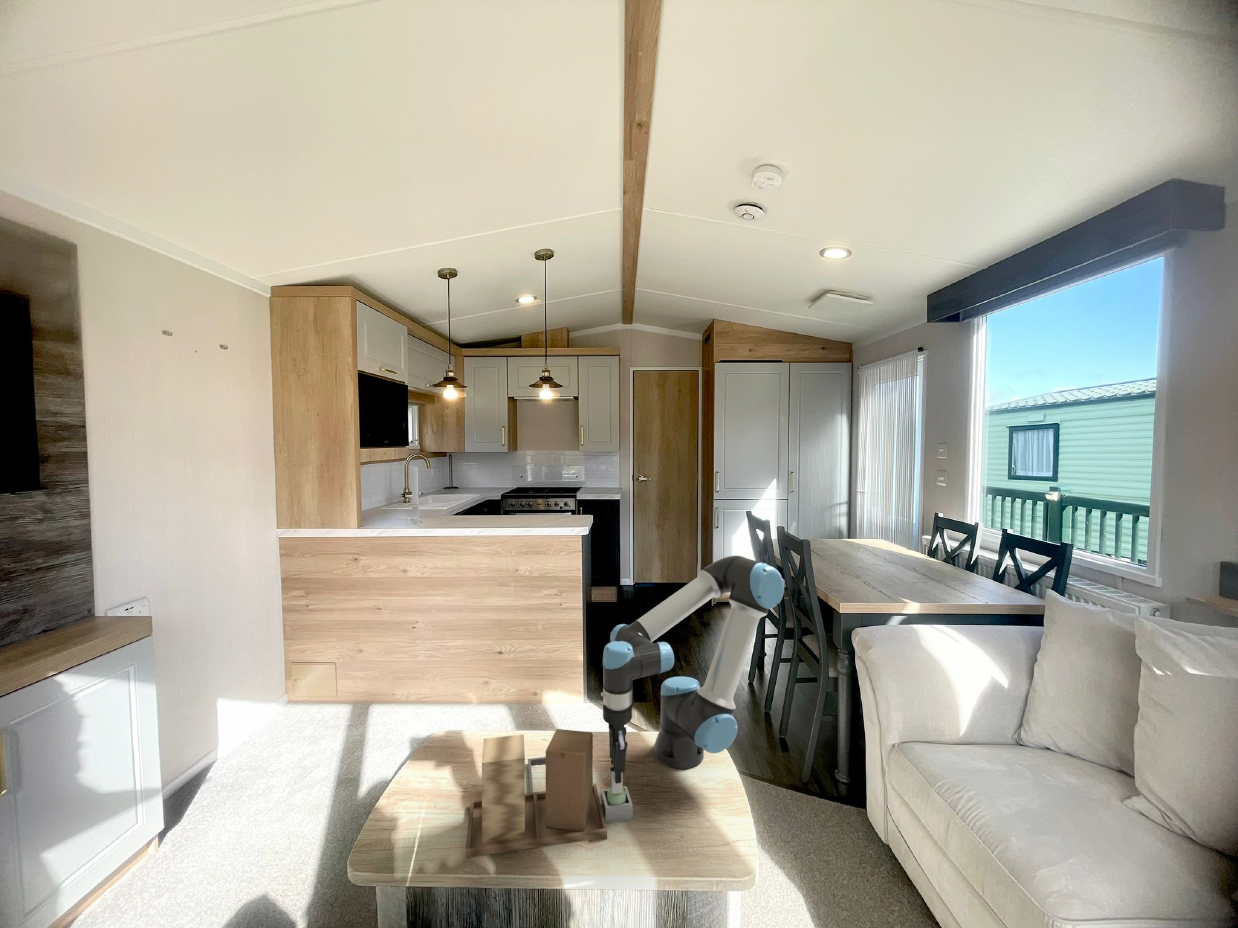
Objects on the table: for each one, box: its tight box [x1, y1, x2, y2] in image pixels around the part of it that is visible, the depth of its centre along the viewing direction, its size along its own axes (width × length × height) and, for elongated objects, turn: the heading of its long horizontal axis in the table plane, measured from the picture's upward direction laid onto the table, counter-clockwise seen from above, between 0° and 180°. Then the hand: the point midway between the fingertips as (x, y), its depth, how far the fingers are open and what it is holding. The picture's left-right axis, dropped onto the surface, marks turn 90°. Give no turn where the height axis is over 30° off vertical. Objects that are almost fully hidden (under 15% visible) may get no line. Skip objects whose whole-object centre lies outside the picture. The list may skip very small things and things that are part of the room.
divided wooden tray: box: [465, 783, 608, 859], centre depth 132 cm, size 33×17×2 cm, turn 102°
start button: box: [607, 787, 626, 806], centre depth 136 cm, size 5×5×4 cm
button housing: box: [600, 786, 634, 824], centre depth 136 cm, size 7×7×4 cm
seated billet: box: [481, 734, 526, 844], centre depth 130 cm, size 10×10×20 cm
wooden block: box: [545, 728, 594, 832], centre depth 133 cm, size 10×10×20 cm
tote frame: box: [527, 756, 546, 793], centre depth 149 cm, size 16×16×2 cm
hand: (616, 791), depth 136 cm, fingers closed
